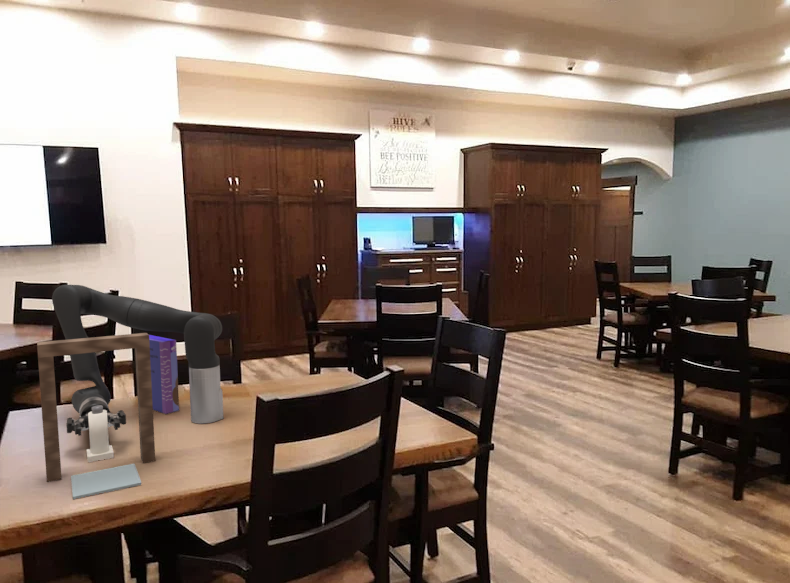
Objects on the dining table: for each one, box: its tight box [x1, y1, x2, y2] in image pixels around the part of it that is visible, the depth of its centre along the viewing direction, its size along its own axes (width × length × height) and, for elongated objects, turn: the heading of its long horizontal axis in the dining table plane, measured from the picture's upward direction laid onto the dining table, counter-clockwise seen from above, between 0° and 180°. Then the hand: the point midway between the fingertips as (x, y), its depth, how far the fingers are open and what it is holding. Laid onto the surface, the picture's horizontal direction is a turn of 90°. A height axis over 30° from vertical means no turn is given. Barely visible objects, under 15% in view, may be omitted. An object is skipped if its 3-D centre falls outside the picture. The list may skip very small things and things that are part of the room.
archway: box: [36, 332, 156, 483], centre depth 141 cm, size 24×4×33 cm, turn 121°
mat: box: [70, 463, 142, 500], centre depth 135 cm, size 14×13×1 cm
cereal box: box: [149, 334, 180, 415], centre depth 191 cm, size 17×5×24 cm, turn 52°
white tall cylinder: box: [85, 405, 115, 463], centre depth 150 cm, size 6×6×14 cm
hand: (98, 429), depth 149 cm, fingers open, 8 cm apart
